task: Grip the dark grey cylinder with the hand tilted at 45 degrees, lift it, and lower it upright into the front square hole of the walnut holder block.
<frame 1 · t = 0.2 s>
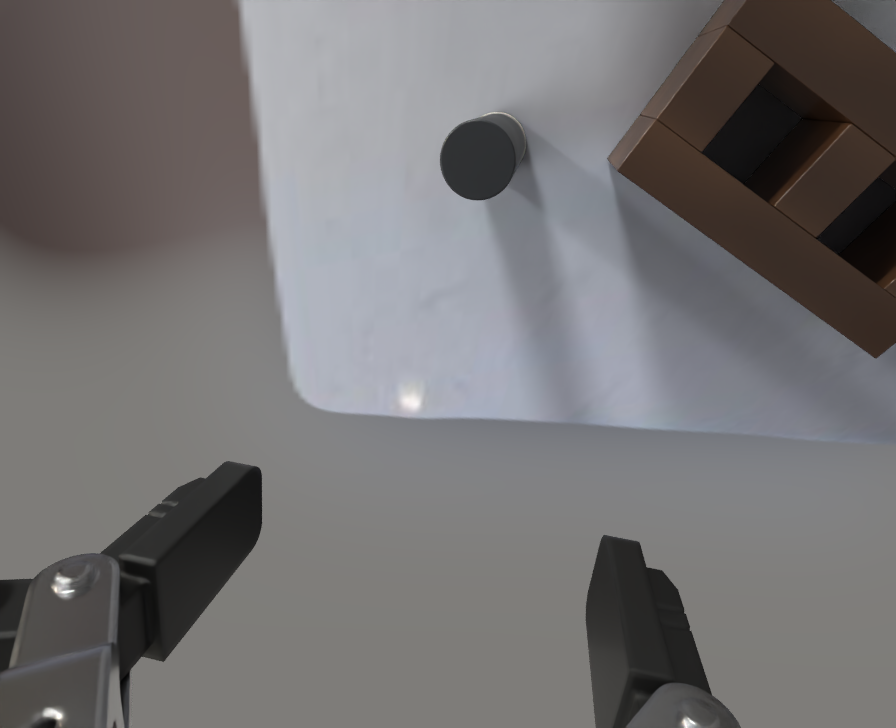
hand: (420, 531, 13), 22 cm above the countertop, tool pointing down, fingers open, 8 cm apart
dark grey cylinder: (497, 143, 29), on the countertop
holder: (788, 169, 27), on the countertop
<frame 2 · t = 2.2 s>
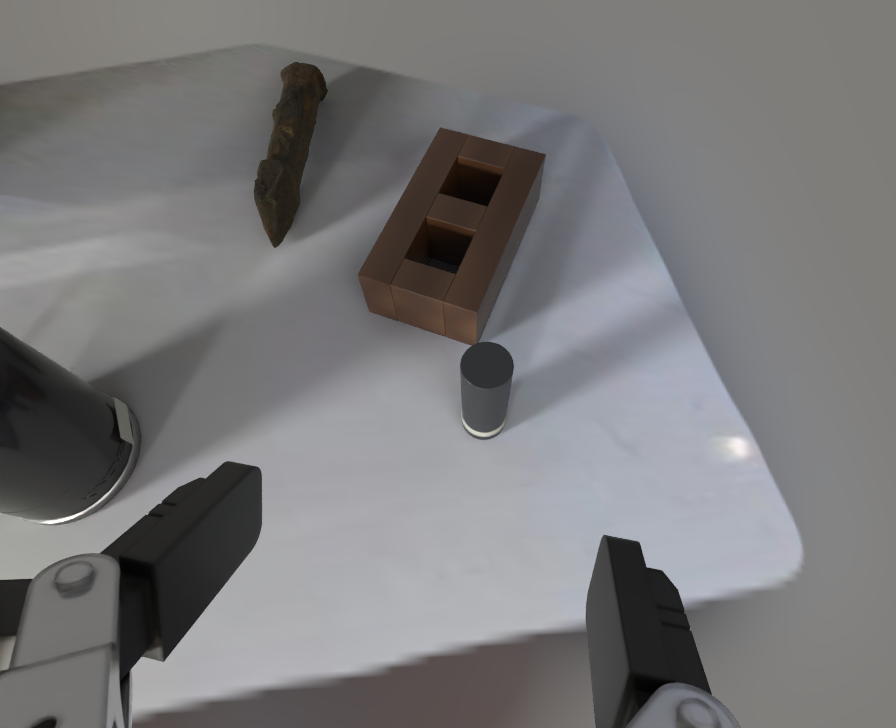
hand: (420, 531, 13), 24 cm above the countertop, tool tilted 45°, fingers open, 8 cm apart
dark grey cylinder: (483, 419, 39), on the countertop
holder: (458, 252, 45), on the countertop
hand tool: (301, 169, 50), on the countertop
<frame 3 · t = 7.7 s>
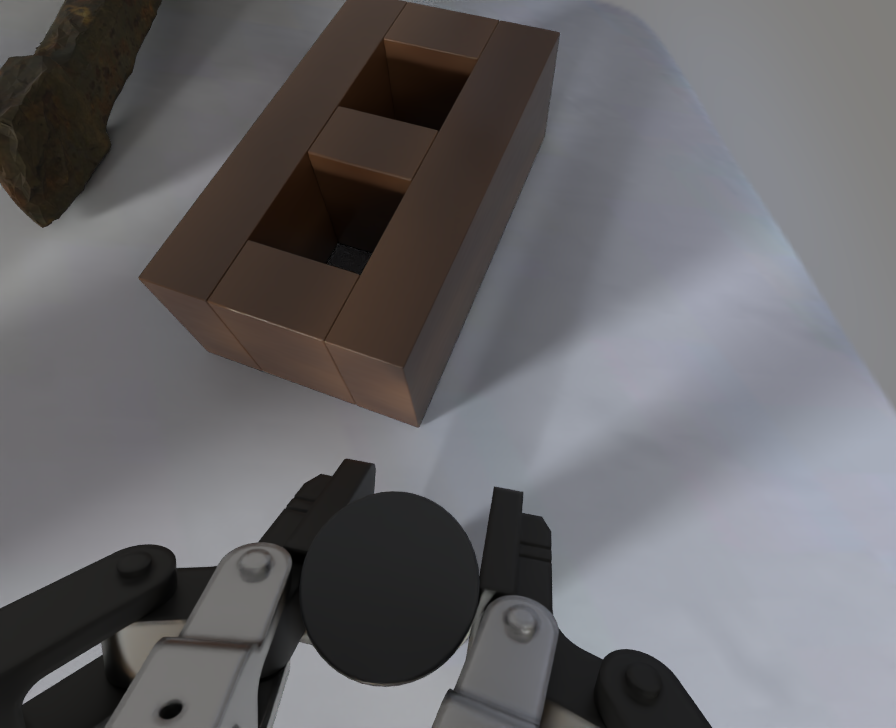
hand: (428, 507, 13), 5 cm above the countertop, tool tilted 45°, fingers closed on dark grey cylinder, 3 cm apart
dark grey cylinder: (427, 604, 17), on the countertop, touching gripper
holder: (392, 233, 24), on the countertop
hand tool: (128, 93, 29), on the countertop
when the fingers open (6 cm above the countertop, at t = 15.9 s): dark grey cylinder drops 2 cm, resting in holder.
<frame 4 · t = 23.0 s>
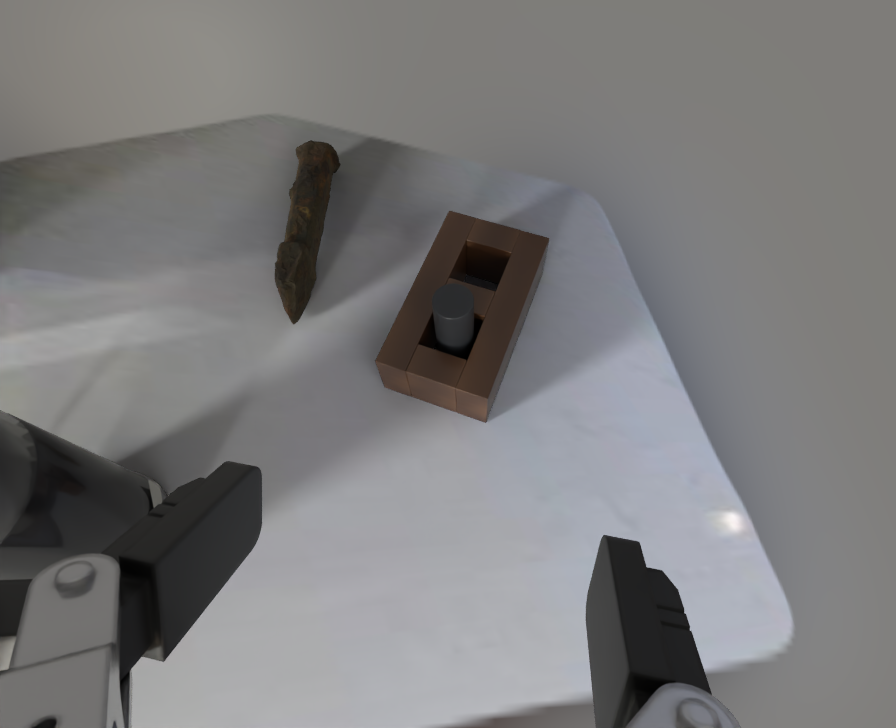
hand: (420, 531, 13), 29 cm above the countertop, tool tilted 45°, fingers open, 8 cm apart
dark grey cylinder: (456, 357, 46), resting in holder
holder: (467, 327, 48), on the countertop
hand tool: (317, 242, 53), on the countertop
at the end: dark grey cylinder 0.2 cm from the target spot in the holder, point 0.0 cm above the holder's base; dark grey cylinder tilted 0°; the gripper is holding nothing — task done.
